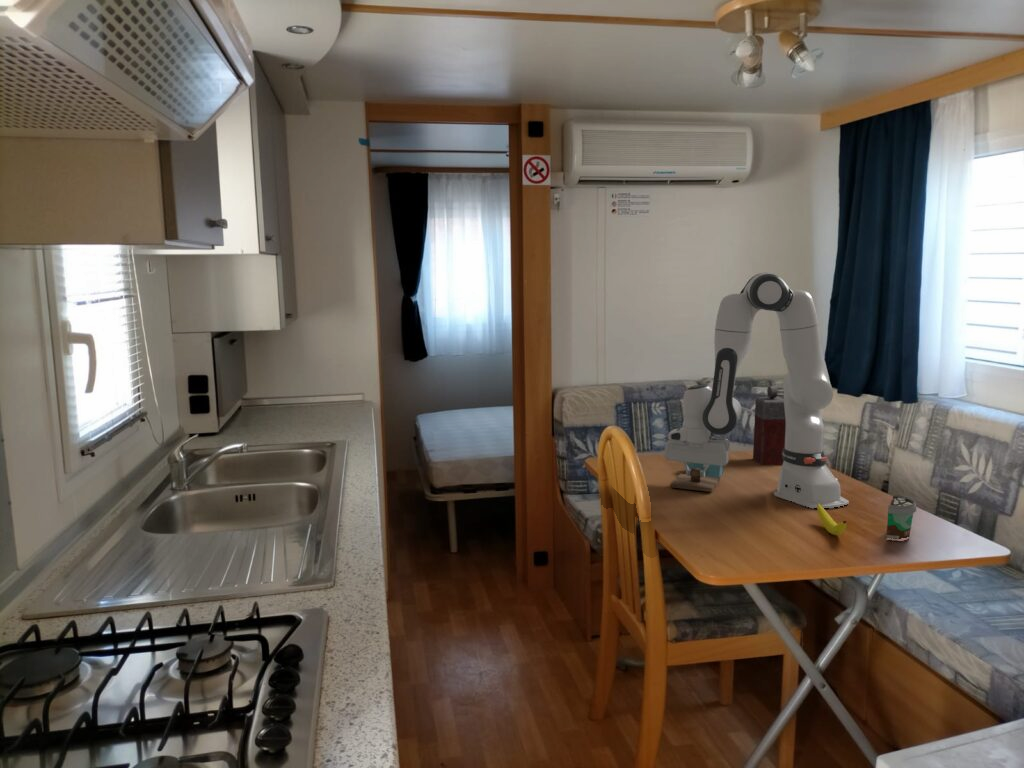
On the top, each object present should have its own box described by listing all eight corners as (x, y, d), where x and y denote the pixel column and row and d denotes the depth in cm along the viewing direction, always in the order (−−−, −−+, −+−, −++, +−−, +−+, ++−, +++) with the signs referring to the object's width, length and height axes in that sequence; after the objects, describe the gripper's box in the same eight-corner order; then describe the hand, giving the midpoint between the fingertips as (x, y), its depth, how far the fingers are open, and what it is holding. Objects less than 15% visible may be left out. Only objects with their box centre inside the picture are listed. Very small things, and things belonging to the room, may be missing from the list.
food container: (912, 546, 193) (915, 509, 191) (885, 542, 196) (888, 505, 194) (916, 532, 203) (919, 496, 201) (890, 528, 206) (893, 492, 205)
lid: (711, 491, 237) (712, 476, 236) (670, 487, 243) (671, 472, 242) (719, 480, 249) (720, 466, 248) (680, 476, 254) (680, 462, 253)
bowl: (727, 476, 256) (728, 462, 255) (698, 479, 253) (699, 464, 252) (710, 468, 267) (711, 454, 266) (682, 470, 264) (682, 456, 263)
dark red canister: (792, 465, 270) (796, 388, 265) (761, 465, 270) (764, 388, 265) (782, 458, 279) (786, 383, 274) (752, 458, 278) (756, 384, 274)
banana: (822, 519, 213) (824, 498, 212) (849, 544, 194) (851, 521, 193) (812, 519, 213) (813, 498, 212) (838, 544, 195) (839, 521, 193)
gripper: (731, 435, 241) (730, 476, 243) (668, 430, 250) (667, 470, 252) (727, 439, 236) (726, 482, 238) (663, 434, 245) (662, 475, 247)
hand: (695, 475), depth 245 cm, fingers closed on lid, 3 cm apart
